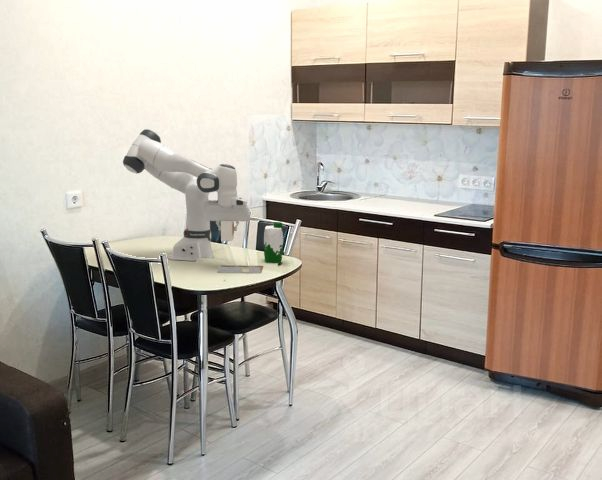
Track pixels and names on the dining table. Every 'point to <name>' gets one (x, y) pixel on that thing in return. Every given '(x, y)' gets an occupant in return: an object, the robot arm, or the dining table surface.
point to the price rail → (238, 269)
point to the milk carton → (273, 243)
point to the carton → (227, 230)
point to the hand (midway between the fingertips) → (227, 230)
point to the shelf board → (242, 266)
